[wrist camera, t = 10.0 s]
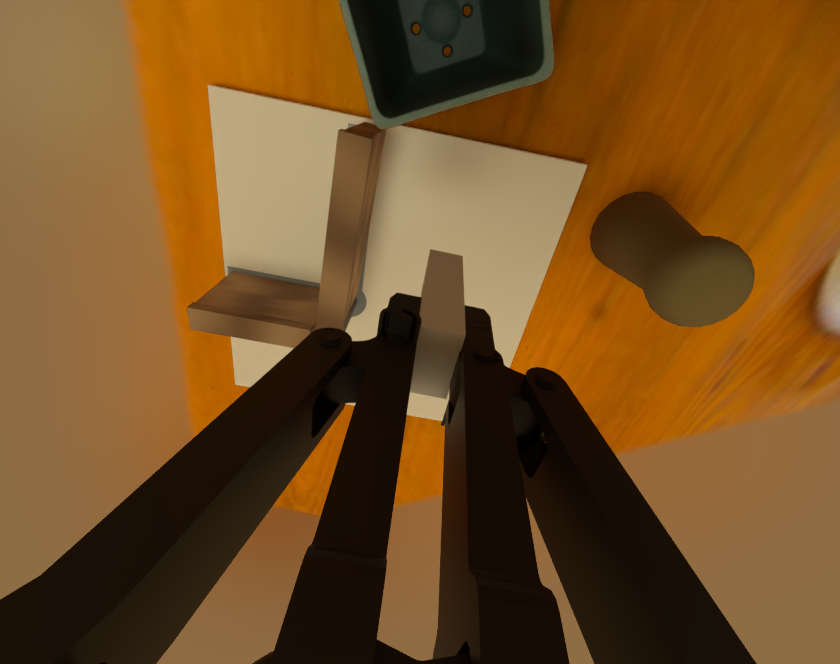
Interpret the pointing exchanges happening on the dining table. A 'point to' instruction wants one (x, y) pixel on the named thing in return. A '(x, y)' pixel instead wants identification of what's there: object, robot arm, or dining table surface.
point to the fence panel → (348, 220)
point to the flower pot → (427, 65)
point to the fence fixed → (259, 310)
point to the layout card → (385, 216)
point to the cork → (672, 260)
